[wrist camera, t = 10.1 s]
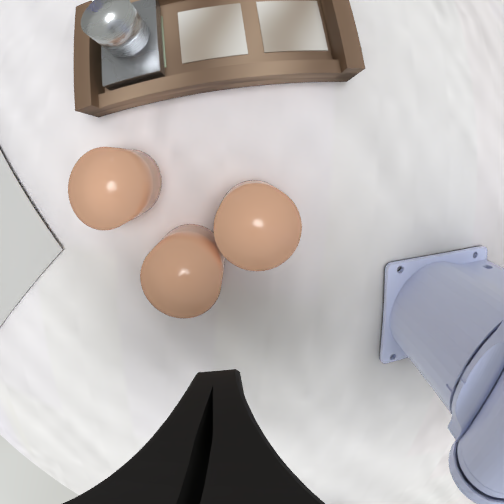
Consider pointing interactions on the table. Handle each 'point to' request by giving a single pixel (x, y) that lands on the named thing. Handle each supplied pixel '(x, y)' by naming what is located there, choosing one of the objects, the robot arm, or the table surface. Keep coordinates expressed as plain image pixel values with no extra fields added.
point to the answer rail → (228, 50)
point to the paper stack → (20, 242)
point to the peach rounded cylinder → (183, 272)
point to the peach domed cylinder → (113, 186)
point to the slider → (126, 40)
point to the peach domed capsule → (257, 226)
